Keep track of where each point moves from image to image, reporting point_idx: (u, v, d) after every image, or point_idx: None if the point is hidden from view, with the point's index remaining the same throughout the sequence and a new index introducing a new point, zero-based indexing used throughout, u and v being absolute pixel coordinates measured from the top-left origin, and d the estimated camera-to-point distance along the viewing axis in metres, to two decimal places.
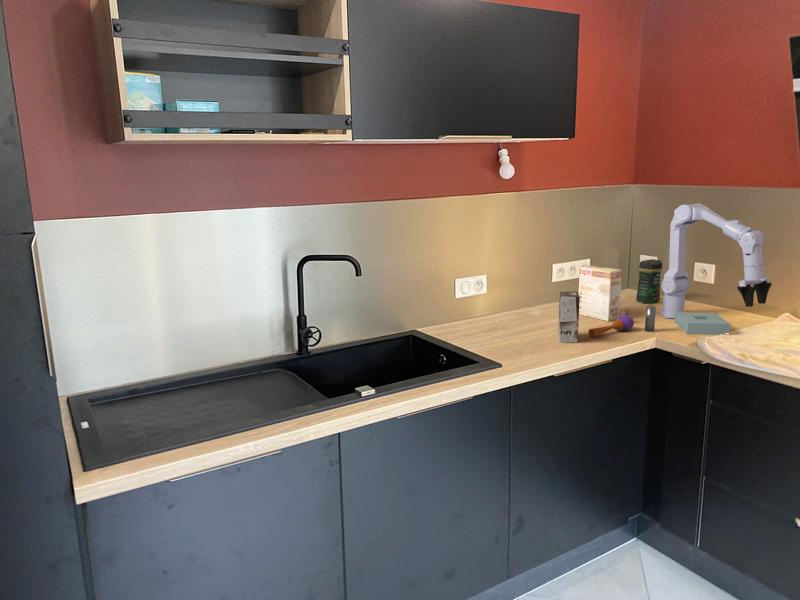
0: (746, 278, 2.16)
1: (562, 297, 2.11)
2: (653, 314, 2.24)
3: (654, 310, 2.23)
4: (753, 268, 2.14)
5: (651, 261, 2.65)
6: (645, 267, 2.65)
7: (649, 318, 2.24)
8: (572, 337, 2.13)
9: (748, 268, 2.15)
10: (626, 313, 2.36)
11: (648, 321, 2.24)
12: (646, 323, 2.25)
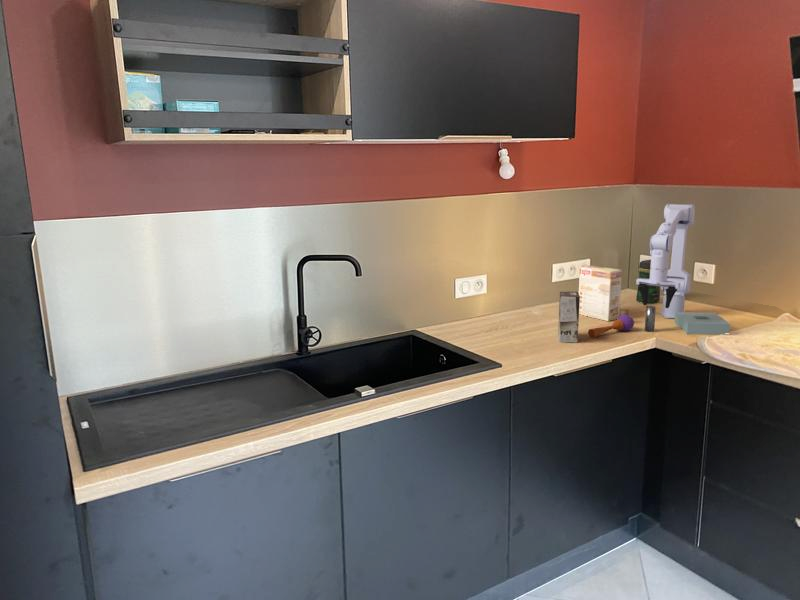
0: None
1: (562, 297, 2.11)
2: (653, 314, 2.24)
3: (654, 310, 2.23)
4: (650, 270, 2.21)
5: None
6: (645, 267, 2.65)
7: (649, 318, 2.24)
8: (572, 337, 2.13)
9: None
10: (626, 313, 2.36)
11: (648, 321, 2.24)
12: (646, 323, 2.25)
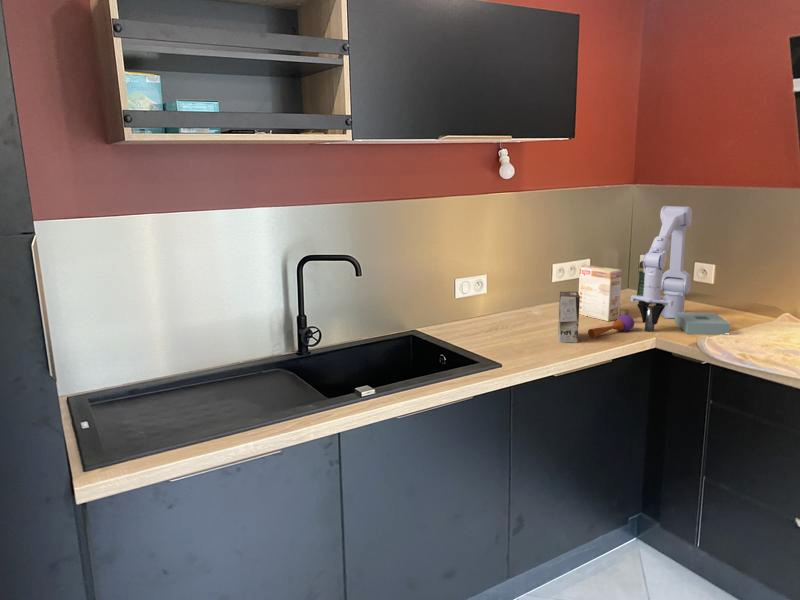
0: None
1: (562, 297, 2.11)
2: (653, 314, 2.24)
3: None
4: None
5: None
6: None
7: (649, 318, 2.24)
8: (572, 337, 2.13)
9: None
10: (626, 313, 2.36)
11: (648, 321, 2.24)
12: (646, 323, 2.25)
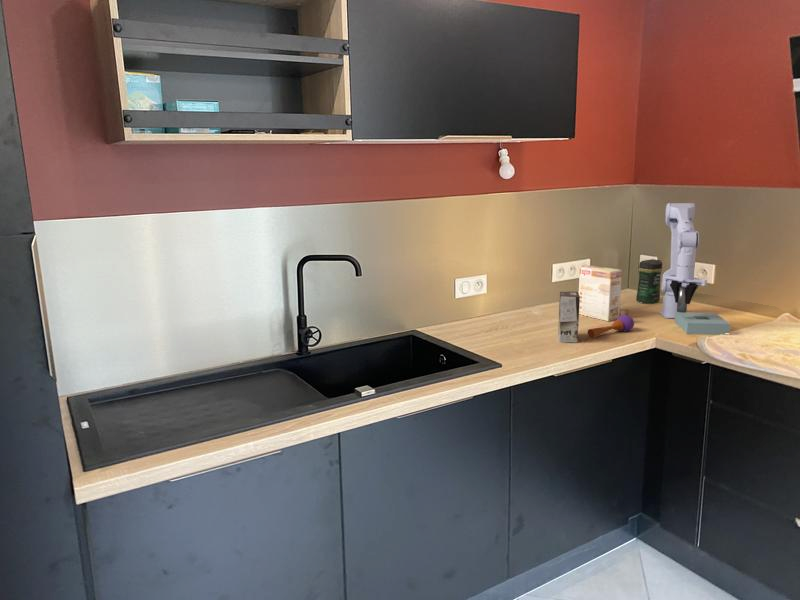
0: None
1: (562, 297, 2.11)
2: (685, 294, 2.23)
3: (686, 290, 2.23)
4: (677, 267, 2.23)
5: (651, 261, 2.65)
6: (645, 267, 2.65)
7: (681, 298, 2.24)
8: (572, 337, 2.13)
9: None
10: (626, 313, 2.36)
11: (680, 301, 2.24)
12: (678, 303, 2.25)
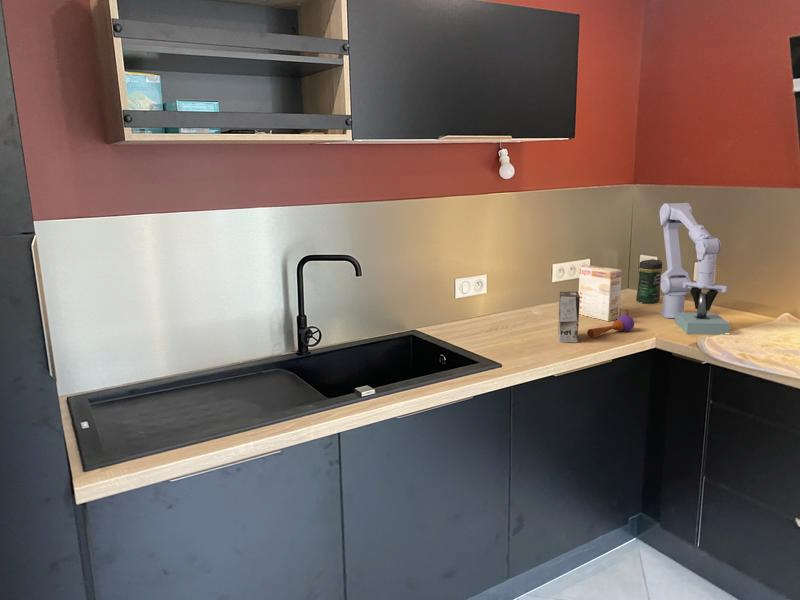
0: None
1: (562, 297, 2.11)
2: (705, 301, 2.24)
3: (706, 297, 2.24)
4: (697, 273, 2.25)
5: (651, 261, 2.65)
6: (645, 267, 2.65)
7: (700, 304, 2.25)
8: (572, 337, 2.13)
9: None
10: (626, 313, 2.36)
11: (700, 307, 2.25)
12: (698, 310, 2.26)
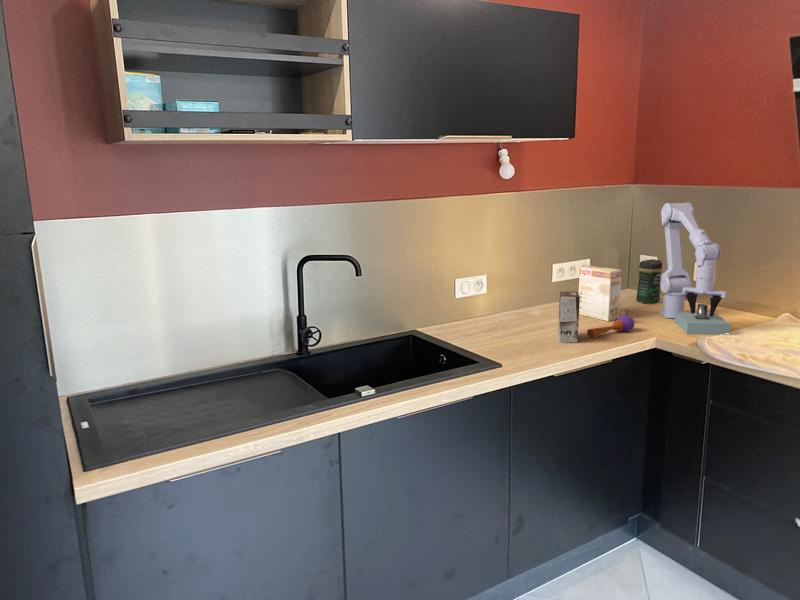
0: None
1: (562, 297, 2.11)
2: (704, 312, 2.25)
3: (705, 308, 2.25)
4: (696, 279, 2.25)
5: (651, 261, 2.65)
6: (645, 267, 2.65)
7: (700, 315, 2.26)
8: (572, 337, 2.13)
9: None
10: (626, 313, 2.36)
11: (699, 318, 2.26)
12: None
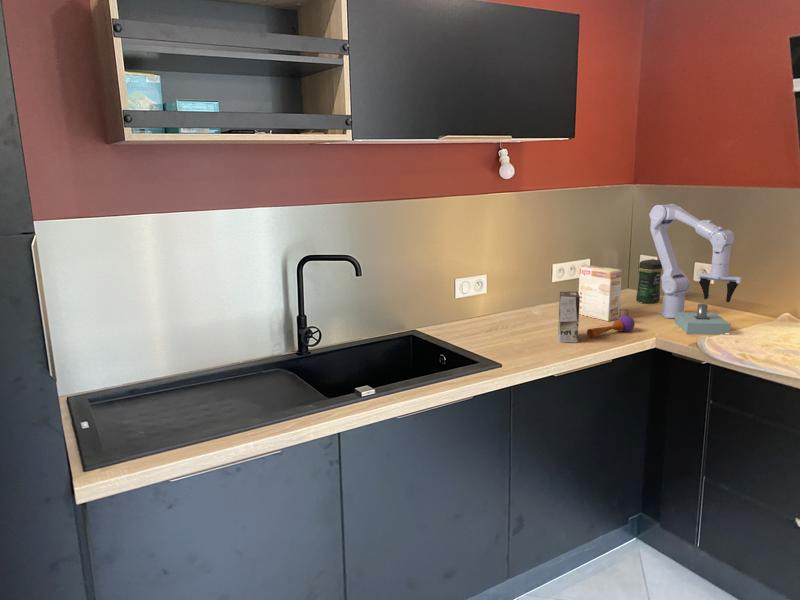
0: None
1: (562, 297, 2.11)
2: (704, 312, 2.25)
3: (705, 308, 2.25)
4: (711, 265, 2.28)
5: (651, 261, 2.65)
6: (645, 267, 2.65)
7: (700, 315, 2.26)
8: (572, 337, 2.13)
9: None
10: (626, 313, 2.36)
11: (699, 318, 2.26)
12: None
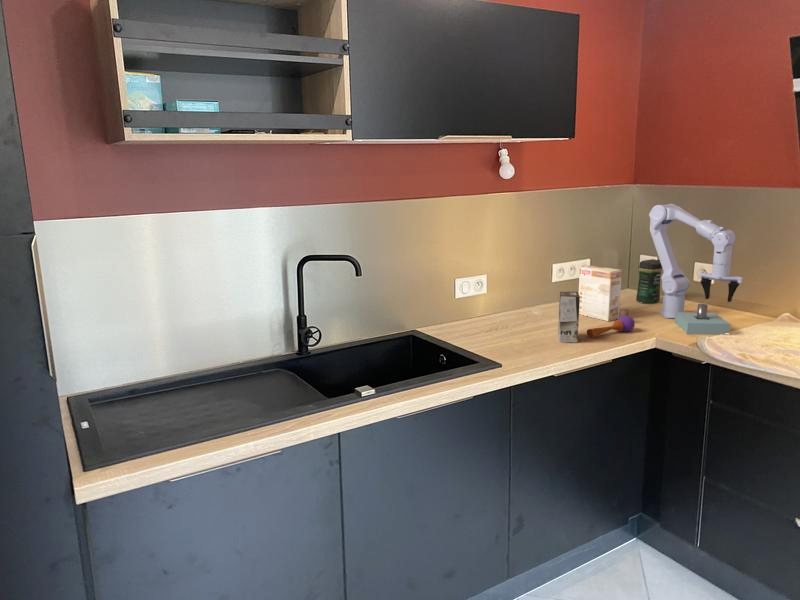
0: None
1: (562, 297, 2.11)
2: (704, 312, 2.25)
3: (705, 308, 2.25)
4: (713, 265, 2.29)
5: (651, 261, 2.65)
6: (645, 267, 2.65)
7: (700, 315, 2.26)
8: (572, 337, 2.13)
9: None
10: (626, 313, 2.36)
11: (699, 318, 2.26)
12: None
